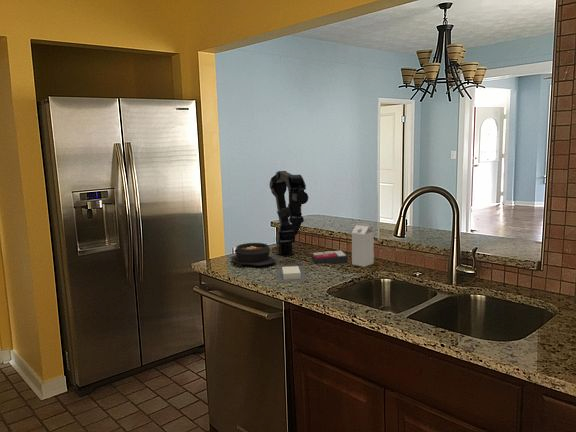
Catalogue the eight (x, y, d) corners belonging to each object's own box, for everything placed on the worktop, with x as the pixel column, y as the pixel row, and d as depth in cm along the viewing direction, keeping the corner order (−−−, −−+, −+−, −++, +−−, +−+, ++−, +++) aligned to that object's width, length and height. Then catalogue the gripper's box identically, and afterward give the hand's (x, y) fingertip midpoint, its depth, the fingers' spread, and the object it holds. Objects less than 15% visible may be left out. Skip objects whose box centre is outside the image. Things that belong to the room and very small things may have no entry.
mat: (275, 269, 214) (275, 269, 214) (302, 268, 214) (302, 267, 214) (277, 282, 194) (277, 281, 194) (307, 281, 195) (307, 280, 195)
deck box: (282, 266, 207) (283, 273, 196) (298, 266, 207) (300, 273, 197) (282, 272, 207) (283, 279, 197) (298, 272, 208) (300, 279, 197)
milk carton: (361, 261, 225) (361, 221, 222) (373, 264, 219) (373, 223, 217) (351, 264, 220) (351, 223, 217) (364, 267, 215) (364, 225, 212)
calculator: (311, 252, 231) (341, 249, 233) (312, 261, 232) (342, 257, 234) (315, 257, 221) (347, 254, 222) (316, 266, 221) (347, 263, 223)
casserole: (285, 263, 224) (284, 246, 223) (254, 271, 212) (253, 253, 210) (251, 255, 242) (251, 239, 241) (221, 262, 230) (220, 245, 228)
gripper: (276, 200, 232) (277, 231, 234) (278, 205, 213) (279, 239, 216) (299, 199, 233) (300, 230, 235) (303, 204, 214) (304, 238, 216)
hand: (295, 234), depth 226 cm, fingers closed
